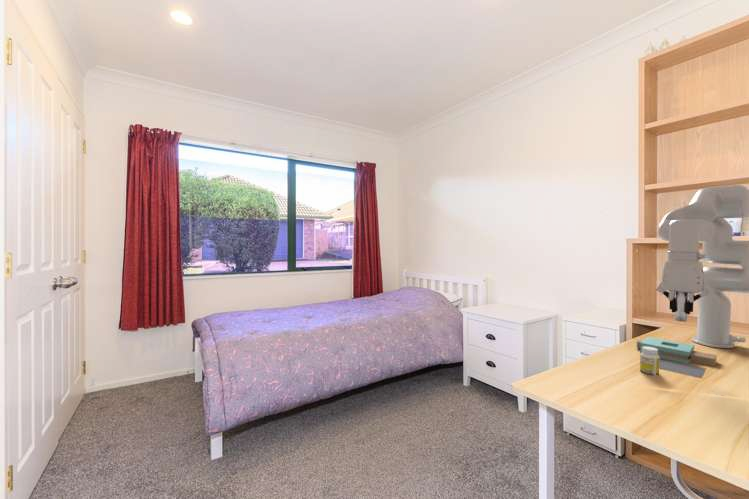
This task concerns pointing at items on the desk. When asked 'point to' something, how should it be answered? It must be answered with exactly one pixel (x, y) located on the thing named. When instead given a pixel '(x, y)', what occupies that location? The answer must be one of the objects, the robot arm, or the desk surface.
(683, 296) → the steel pin
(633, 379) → the desk surface
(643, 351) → the supplement bottle
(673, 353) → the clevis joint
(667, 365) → the rubber mat
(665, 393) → the desk surface
